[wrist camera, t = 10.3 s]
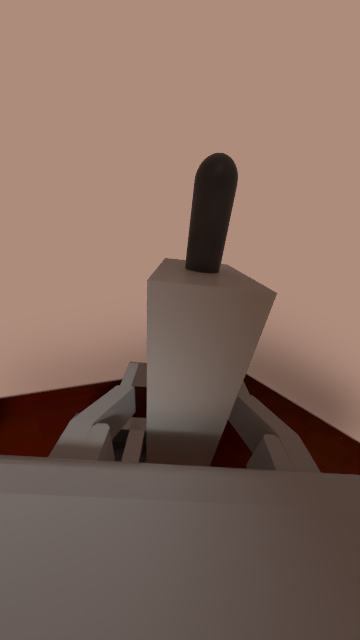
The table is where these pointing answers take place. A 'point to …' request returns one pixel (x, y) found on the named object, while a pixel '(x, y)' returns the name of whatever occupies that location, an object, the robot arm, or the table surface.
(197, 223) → the plug
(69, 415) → the table surface
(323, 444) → the table surface
